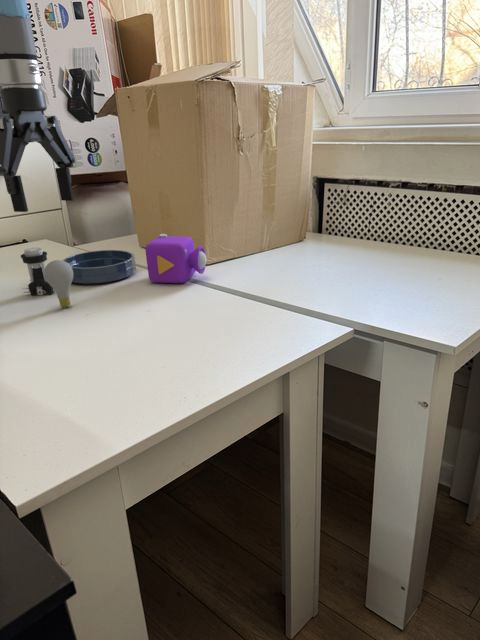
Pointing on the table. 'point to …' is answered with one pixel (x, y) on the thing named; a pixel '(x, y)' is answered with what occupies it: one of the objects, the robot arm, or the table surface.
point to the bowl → (101, 266)
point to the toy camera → (174, 259)
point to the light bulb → (60, 280)
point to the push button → (36, 271)
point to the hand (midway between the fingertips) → (45, 205)
